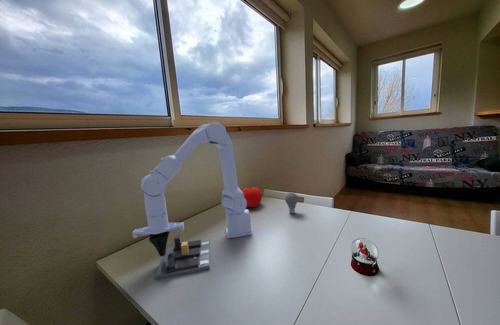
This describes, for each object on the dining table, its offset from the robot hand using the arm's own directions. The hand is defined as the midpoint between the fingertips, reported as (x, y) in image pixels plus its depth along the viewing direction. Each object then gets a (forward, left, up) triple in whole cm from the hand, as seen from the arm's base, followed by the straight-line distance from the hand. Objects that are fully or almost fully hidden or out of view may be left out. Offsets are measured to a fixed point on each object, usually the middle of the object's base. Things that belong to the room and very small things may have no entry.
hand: (162, 254), depth 63 cm
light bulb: (-53, -22, -3) cm, 57 cm away
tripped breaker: (-7, 0, -1) cm, 7 cm away
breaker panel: (-7, 0, -3) cm, 7 cm away
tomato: (-37, -39, -3) cm, 54 cm away
